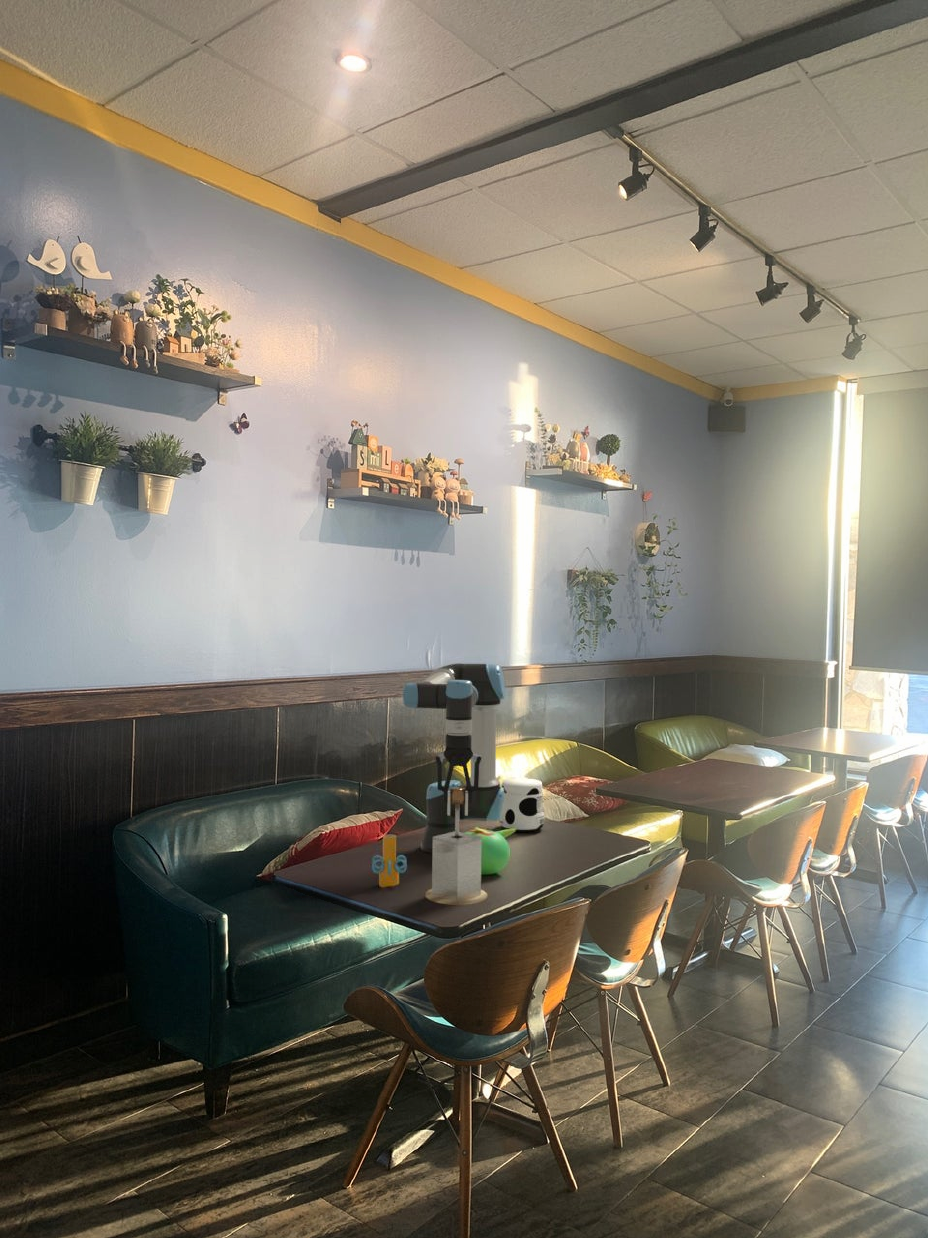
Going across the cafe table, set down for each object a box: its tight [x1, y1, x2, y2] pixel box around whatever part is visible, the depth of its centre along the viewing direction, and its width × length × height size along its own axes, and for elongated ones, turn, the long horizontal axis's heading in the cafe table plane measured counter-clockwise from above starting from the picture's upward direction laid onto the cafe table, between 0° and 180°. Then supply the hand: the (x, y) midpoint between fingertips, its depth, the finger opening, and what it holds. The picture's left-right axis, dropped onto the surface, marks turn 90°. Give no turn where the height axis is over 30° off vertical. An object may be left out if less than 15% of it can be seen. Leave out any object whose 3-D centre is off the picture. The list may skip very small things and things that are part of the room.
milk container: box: [498, 777, 546, 833], centre depth 356 cm, size 17×17×18 cm
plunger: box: [450, 787, 465, 839], centre depth 272 cm, size 7×7×20 cm
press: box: [431, 831, 482, 902], centre depth 272 cm, size 10×16×17 cm, turn 137°
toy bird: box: [464, 826, 516, 876], centre depth 297 cm, size 18×17×15 cm
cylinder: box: [371, 833, 408, 889], centre depth 282 cm, size 12×10×15 cm
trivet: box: [424, 888, 488, 906], centre depth 272 cm, size 18×18×1 cm
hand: (457, 814), depth 272 cm, fingers closed on plunger, 4 cm apart
